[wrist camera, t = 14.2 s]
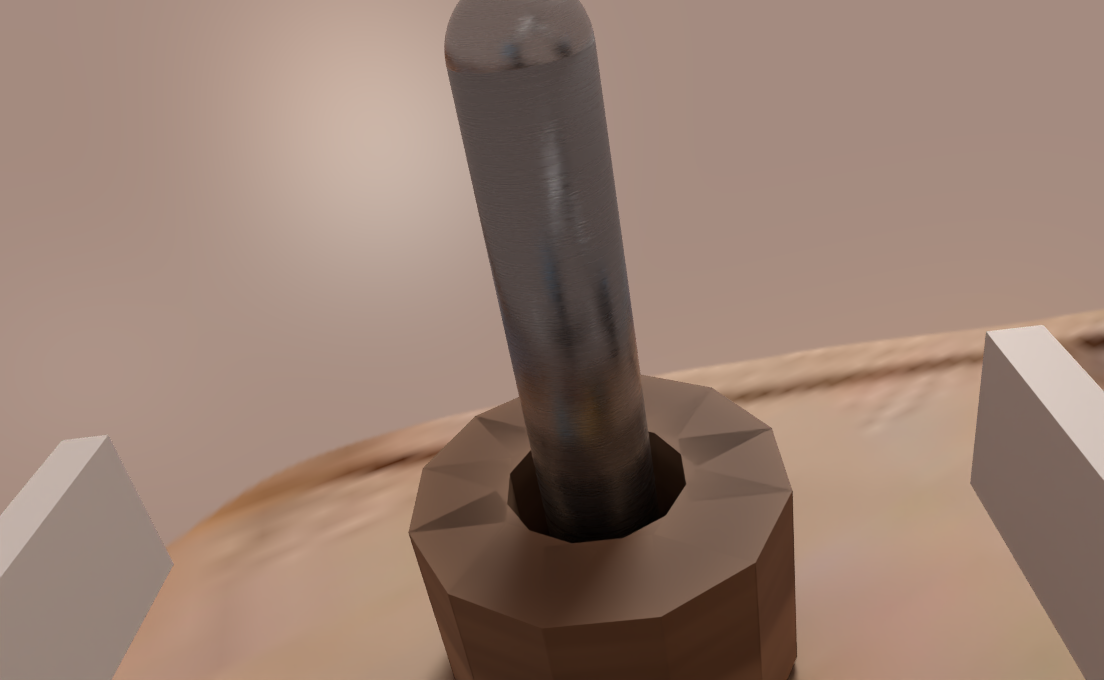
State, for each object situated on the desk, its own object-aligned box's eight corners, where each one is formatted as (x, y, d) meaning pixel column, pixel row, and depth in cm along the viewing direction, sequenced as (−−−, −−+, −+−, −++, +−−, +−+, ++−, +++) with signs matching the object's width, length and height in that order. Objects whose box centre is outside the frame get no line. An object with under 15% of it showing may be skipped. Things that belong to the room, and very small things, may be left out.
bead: (757, 509, 30) (749, 358, 27) (828, 774, 22) (829, 600, 19) (476, 539, 31) (438, 396, 28) (442, 805, 22) (383, 644, 20)
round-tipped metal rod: (670, 593, 27) (582, -53, 18) (681, 674, 25) (585, -31, 16) (573, 603, 28) (439, -27, 18) (574, 684, 25) (418, -2, 16)
